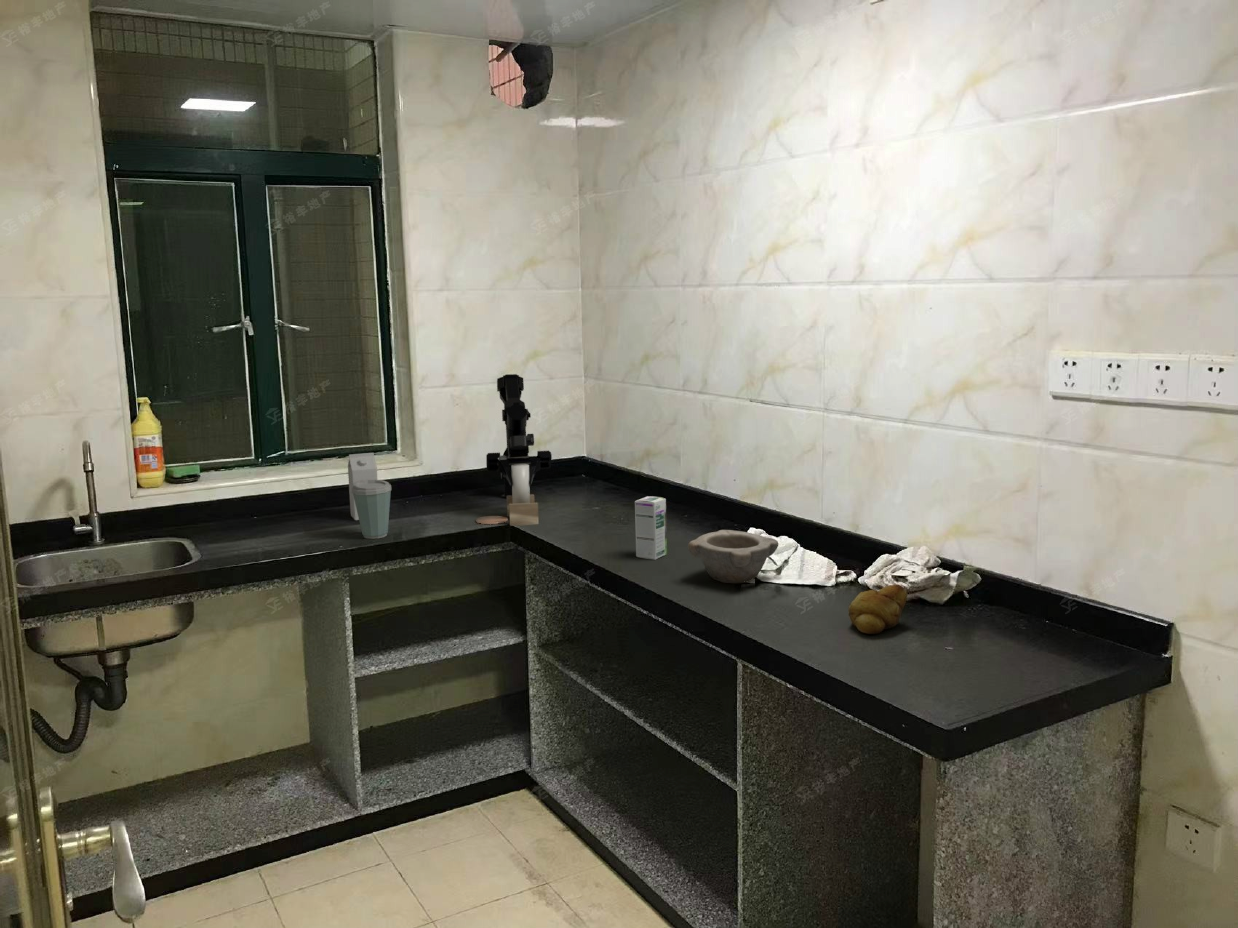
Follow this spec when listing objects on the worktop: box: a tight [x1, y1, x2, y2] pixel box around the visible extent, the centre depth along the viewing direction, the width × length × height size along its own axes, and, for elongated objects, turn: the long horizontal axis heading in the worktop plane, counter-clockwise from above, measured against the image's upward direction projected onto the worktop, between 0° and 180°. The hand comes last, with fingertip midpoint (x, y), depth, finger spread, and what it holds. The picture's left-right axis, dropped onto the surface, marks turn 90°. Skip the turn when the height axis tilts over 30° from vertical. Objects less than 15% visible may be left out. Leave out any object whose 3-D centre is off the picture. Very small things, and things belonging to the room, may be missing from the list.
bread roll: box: [848, 584, 908, 635], centre depth 189 cm, size 13×10×8 cm
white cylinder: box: [511, 464, 531, 504], centre depth 281 cm, size 5×5×12 cm
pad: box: [475, 515, 509, 526], centre depth 281 cm, size 9×9×1 cm
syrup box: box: [634, 495, 668, 561], centre depth 241 cm, size 6×6×14 cm
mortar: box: [687, 529, 779, 584], centre depth 222 cm, size 17×17×9 cm
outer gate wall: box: [509, 502, 539, 526], centre depth 277 cm, size 2×8×6 cm, turn 100°
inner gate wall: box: [506, 493, 536, 517], centre depth 288 cm, size 2×8×6 cm, turn 100°
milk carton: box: [347, 452, 378, 521], centre depth 287 cm, size 7×7×19 cm
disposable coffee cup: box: [352, 478, 392, 540], centre depth 264 cm, size 11×11×15 cm
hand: (521, 484), depth 280 cm, fingers closed on white cylinder, 5 cm apart
